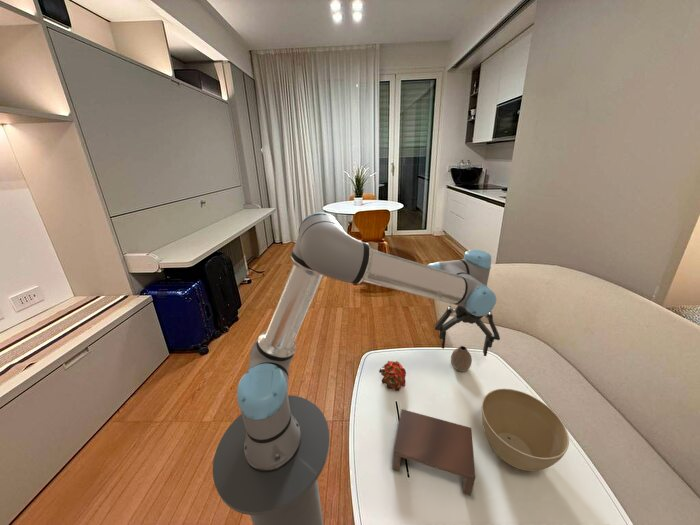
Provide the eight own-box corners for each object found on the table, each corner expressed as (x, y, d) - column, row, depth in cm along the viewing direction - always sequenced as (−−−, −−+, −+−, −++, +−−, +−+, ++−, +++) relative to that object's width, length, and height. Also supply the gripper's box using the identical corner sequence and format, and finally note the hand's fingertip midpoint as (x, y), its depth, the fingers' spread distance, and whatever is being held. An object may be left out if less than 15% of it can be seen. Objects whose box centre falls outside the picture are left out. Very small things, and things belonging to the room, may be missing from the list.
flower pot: (460, 432, 74) (466, 401, 70) (508, 410, 80) (516, 380, 75) (518, 506, 59) (531, 472, 54) (572, 472, 65) (588, 439, 60)
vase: (446, 367, 97) (449, 347, 94) (455, 357, 101) (458, 339, 98) (464, 377, 92) (468, 358, 89) (473, 367, 96) (477, 348, 93)
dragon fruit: (394, 402, 86) (388, 378, 97) (416, 388, 85) (407, 365, 96) (378, 385, 84) (374, 362, 96) (400, 370, 83) (393, 349, 94)
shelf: (392, 469, 66) (393, 451, 64) (400, 425, 77) (401, 408, 74) (470, 496, 61) (475, 477, 58) (467, 445, 71) (471, 427, 68)
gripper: (513, 296, 85) (501, 349, 93) (431, 287, 93) (427, 336, 101) (518, 309, 78) (505, 364, 86) (430, 298, 86) (426, 349, 94)
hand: (463, 349), depth 94 cm, fingers open, 13 cm apart
